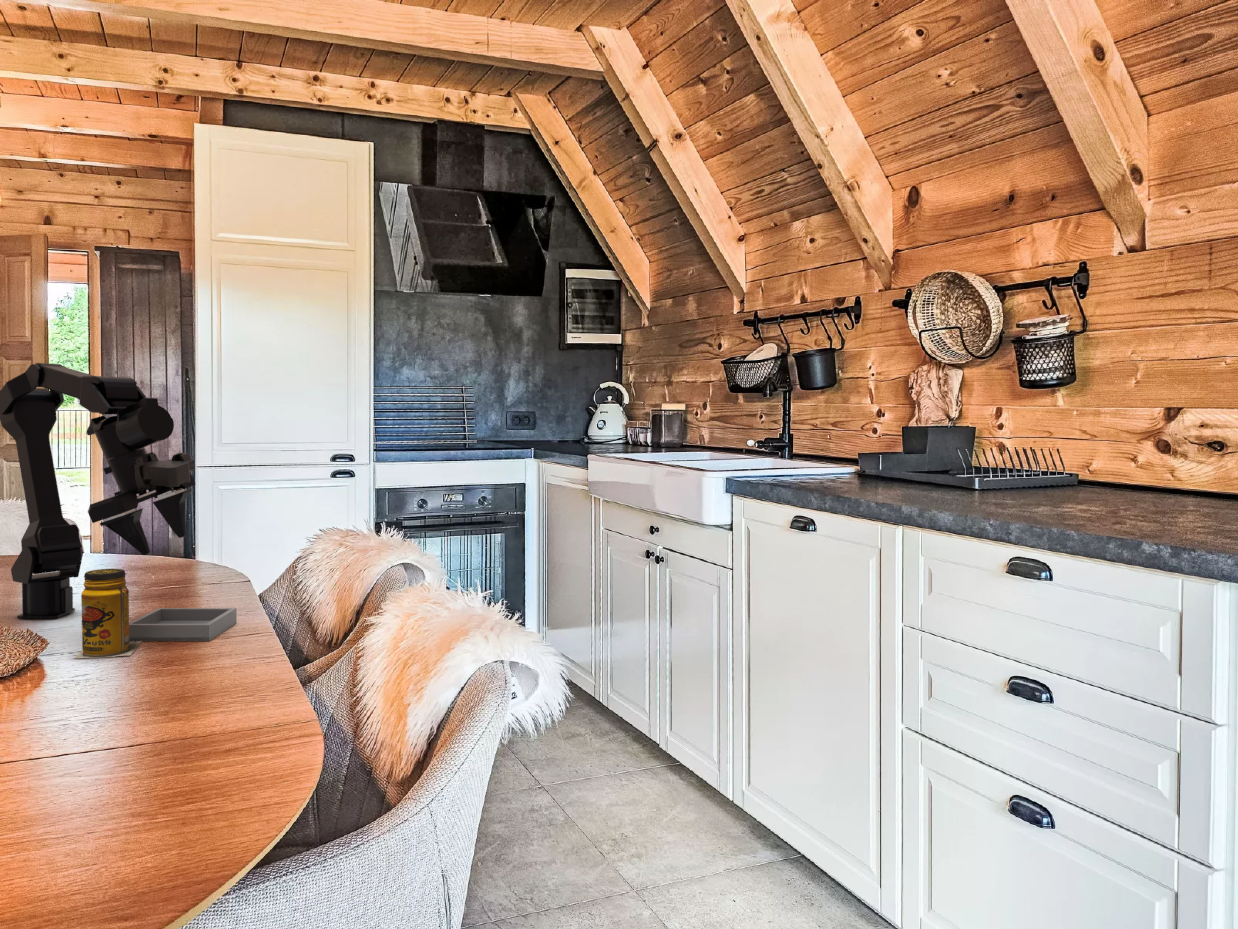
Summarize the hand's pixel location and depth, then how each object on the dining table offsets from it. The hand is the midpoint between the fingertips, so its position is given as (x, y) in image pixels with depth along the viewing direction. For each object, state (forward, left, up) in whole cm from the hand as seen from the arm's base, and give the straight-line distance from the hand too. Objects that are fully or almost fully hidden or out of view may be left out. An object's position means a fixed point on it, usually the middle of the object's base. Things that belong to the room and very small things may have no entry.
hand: (165, 545), depth 149 cm
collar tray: (+3, -1, -14) cm, 14 cm away
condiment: (-3, -13, -14) cm, 19 cm away
